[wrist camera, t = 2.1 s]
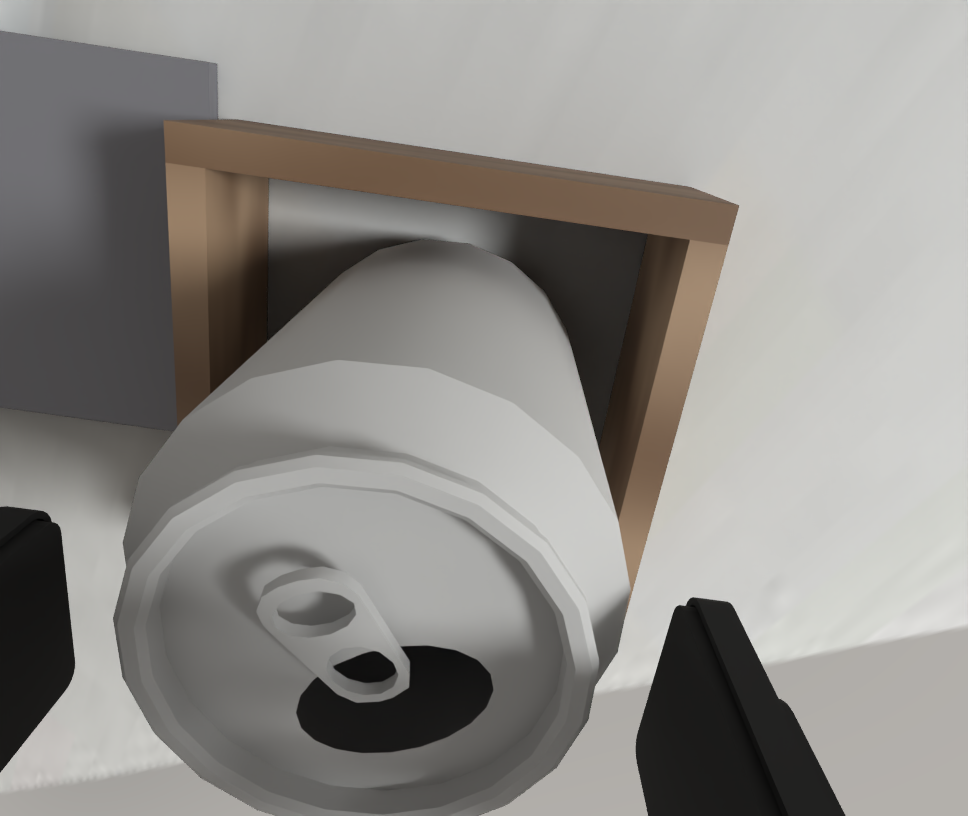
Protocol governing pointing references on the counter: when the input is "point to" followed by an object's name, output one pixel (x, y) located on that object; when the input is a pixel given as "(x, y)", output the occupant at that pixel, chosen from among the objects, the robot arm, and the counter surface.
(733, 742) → the robot arm
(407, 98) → the counter surface
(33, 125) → the rubber mat
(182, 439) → the can
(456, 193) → the walnut box
